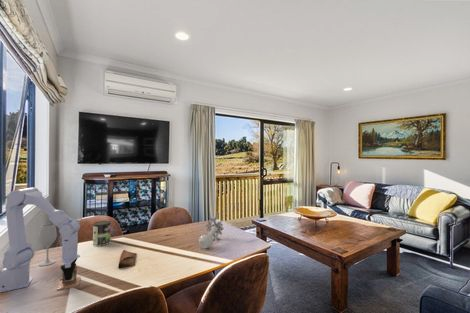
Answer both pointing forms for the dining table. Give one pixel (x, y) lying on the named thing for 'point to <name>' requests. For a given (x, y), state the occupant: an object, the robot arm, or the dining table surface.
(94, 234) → the coffee can
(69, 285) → the coaster
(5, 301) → the dining table surface
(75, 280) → the brown cube
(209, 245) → the flower vase
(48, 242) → the wineglass
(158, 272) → the dining table surface
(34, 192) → the robot arm
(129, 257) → the sunglasses case
